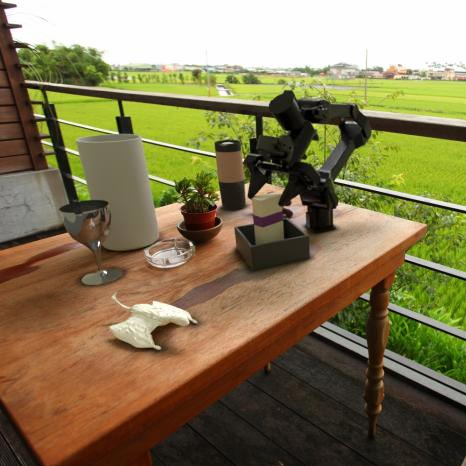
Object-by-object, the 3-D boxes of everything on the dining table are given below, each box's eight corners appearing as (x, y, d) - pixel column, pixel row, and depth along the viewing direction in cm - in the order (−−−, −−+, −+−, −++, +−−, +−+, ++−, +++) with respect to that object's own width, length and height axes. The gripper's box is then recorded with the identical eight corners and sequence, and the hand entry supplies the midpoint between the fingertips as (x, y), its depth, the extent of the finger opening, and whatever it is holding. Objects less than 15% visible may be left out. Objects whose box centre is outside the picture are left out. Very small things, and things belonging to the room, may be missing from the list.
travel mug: (240, 201, 126) (234, 139, 119) (251, 207, 121) (245, 142, 113) (217, 205, 122) (209, 141, 114) (227, 212, 116) (220, 144, 109)
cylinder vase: (101, 256, 87) (72, 143, 78) (103, 237, 97) (78, 135, 88) (162, 246, 93) (142, 140, 83) (158, 229, 103) (140, 132, 94)
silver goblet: (127, 265, 83) (112, 198, 78) (121, 282, 77) (104, 210, 71) (84, 270, 81) (65, 202, 75) (74, 289, 74) (53, 214, 68)
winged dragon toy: (83, 328, 63) (76, 306, 61) (138, 298, 71) (133, 278, 70) (164, 360, 56) (159, 336, 54) (214, 322, 64) (211, 301, 63)
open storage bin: (288, 238, 98) (287, 217, 96) (309, 257, 88) (309, 235, 86) (236, 248, 92) (234, 226, 90) (252, 270, 82) (250, 247, 80)
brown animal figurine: (240, 193, 112) (283, 205, 107) (255, 181, 117) (297, 192, 112) (244, 213, 116) (286, 225, 111) (259, 201, 122) (300, 212, 116)
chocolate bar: (256, 252, 89) (251, 198, 84) (276, 244, 94) (272, 192, 89) (264, 255, 87) (260, 200, 82) (284, 247, 92) (281, 194, 87)
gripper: (246, 117, 87) (211, 174, 82) (311, 123, 77) (275, 188, 73) (273, 148, 96) (242, 201, 91) (334, 157, 86) (303, 217, 82)
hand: (263, 201), depth 84 cm, fingers open, 9 cm apart
